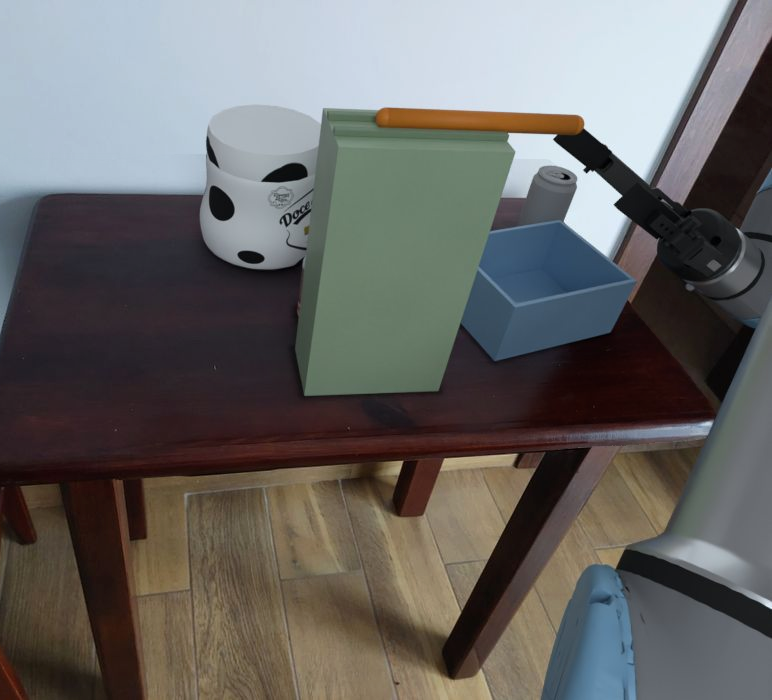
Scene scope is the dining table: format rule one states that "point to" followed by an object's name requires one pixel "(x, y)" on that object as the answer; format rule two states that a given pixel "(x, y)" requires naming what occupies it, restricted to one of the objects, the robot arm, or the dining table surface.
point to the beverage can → (548, 196)
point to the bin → (542, 290)
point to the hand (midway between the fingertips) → (592, 160)
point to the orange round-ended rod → (480, 121)
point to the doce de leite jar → (259, 186)
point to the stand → (392, 251)
